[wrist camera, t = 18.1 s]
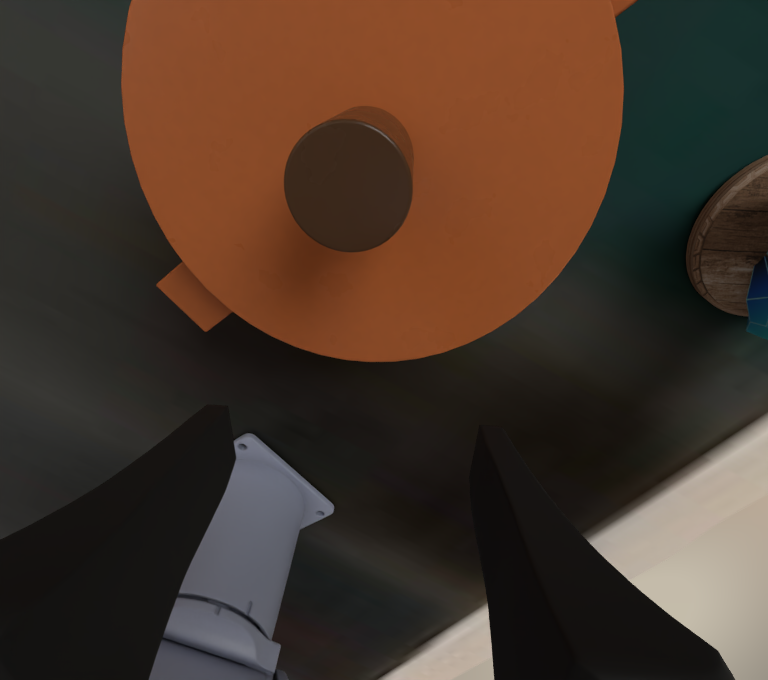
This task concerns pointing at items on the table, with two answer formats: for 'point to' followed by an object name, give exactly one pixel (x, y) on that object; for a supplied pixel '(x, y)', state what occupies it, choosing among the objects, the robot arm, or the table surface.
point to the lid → (373, 158)
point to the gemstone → (734, 248)
